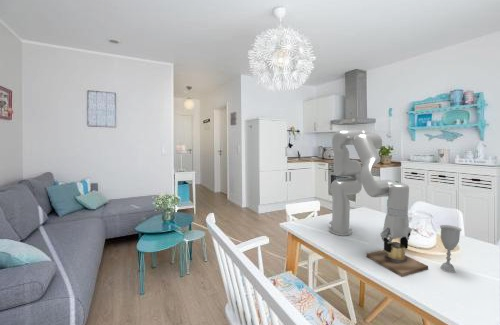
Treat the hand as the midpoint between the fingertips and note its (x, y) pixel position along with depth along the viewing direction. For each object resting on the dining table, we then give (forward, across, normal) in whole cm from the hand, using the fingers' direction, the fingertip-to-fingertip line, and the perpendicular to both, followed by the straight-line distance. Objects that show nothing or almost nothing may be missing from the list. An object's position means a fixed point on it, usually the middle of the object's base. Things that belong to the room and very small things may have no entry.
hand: (395, 249), depth 108 cm
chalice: (+6, -15, +12) cm, 20 cm away
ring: (+3, 0, 0) cm, 3 cm away
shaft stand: (+6, 0, 0) cm, 6 cm away
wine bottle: (+6, -30, -26) cm, 40 cm away
